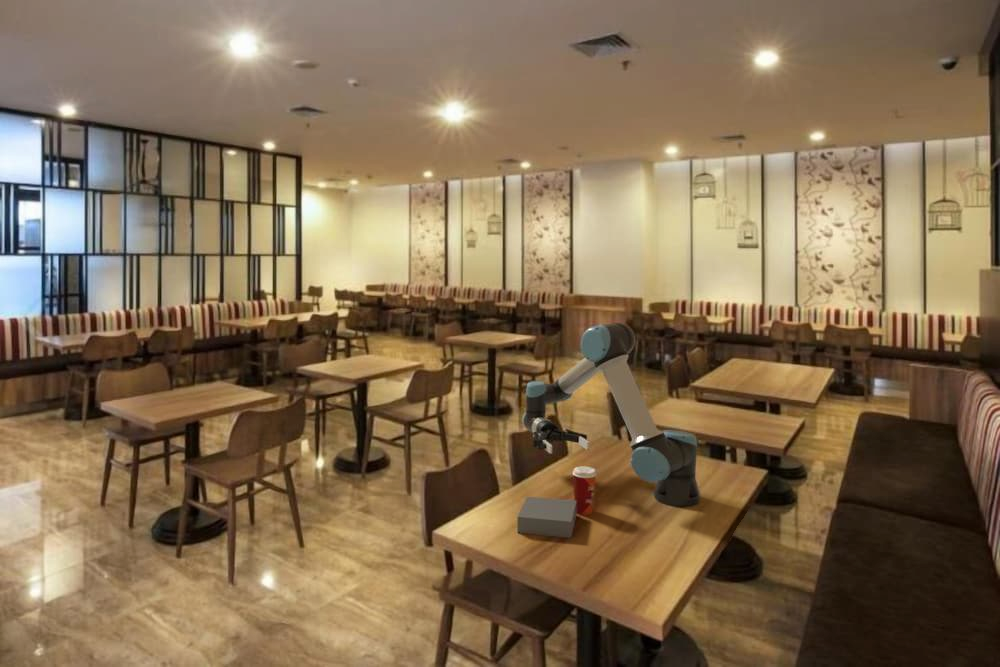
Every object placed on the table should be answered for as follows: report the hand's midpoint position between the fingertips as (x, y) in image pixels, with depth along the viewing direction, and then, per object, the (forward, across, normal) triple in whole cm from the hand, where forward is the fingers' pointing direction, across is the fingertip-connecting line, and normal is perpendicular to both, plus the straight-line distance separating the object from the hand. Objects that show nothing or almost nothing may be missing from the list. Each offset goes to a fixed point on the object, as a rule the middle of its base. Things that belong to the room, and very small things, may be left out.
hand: (569, 447), depth 211 cm
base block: (+16, +14, -18) cm, 28 cm away
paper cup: (+11, 0, -18) cm, 21 cm away
